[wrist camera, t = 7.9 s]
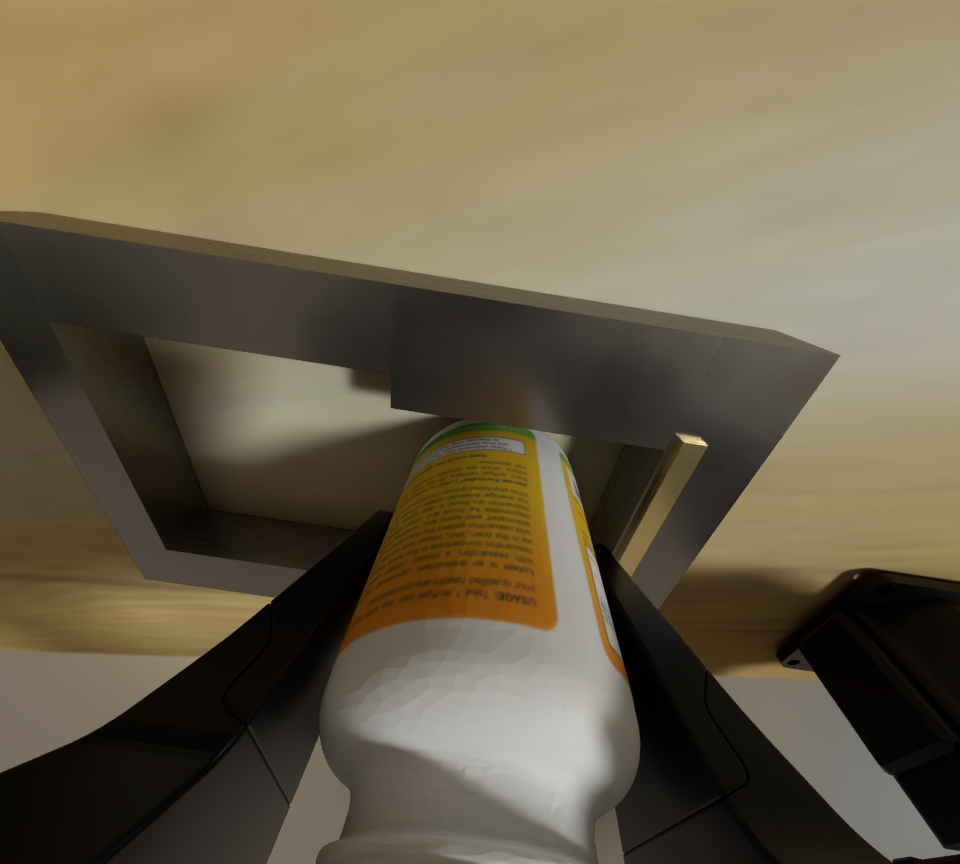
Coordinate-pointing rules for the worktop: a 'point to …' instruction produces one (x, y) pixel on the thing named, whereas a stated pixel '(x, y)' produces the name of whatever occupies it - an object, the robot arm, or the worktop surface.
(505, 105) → the worktop surface
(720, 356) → the keyhole plate
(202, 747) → the robot arm
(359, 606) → the supplement bottle
